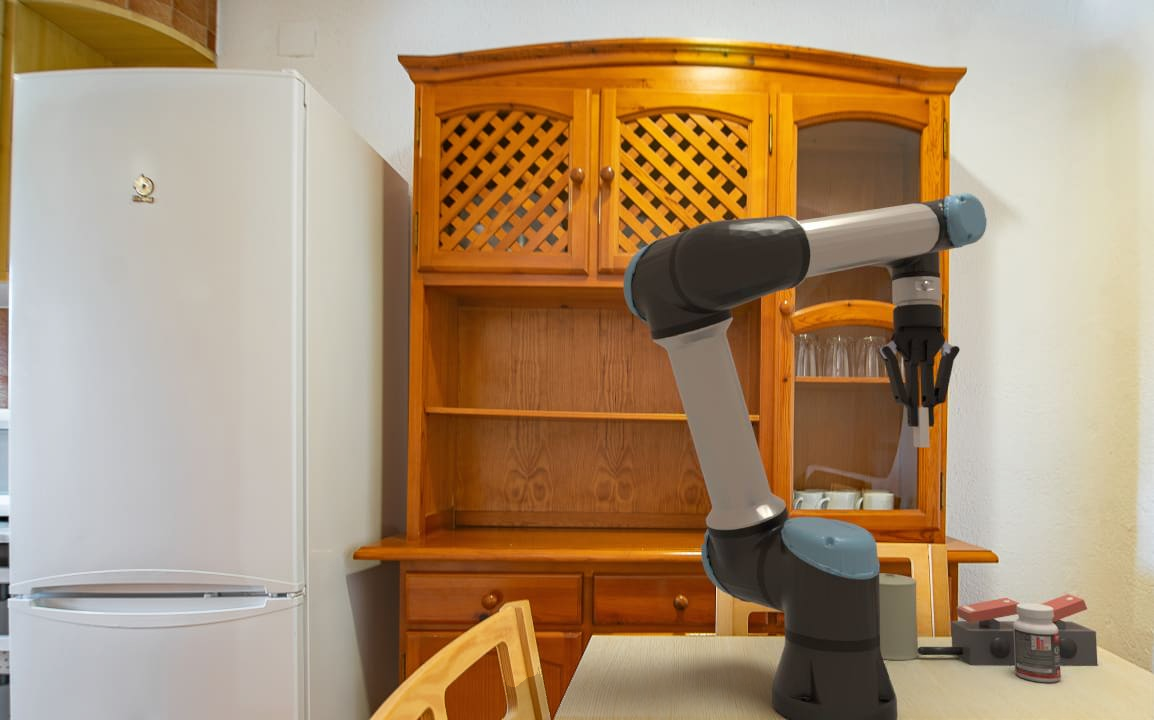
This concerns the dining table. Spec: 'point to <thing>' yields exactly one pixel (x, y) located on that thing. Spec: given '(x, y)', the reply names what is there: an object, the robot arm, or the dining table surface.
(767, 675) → the dining table surface
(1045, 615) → the pill bottle
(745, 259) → the robot arm
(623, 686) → the dining table surface
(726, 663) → the dining table surface
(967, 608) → the rocker
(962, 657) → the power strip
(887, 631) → the can
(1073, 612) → the rocker
